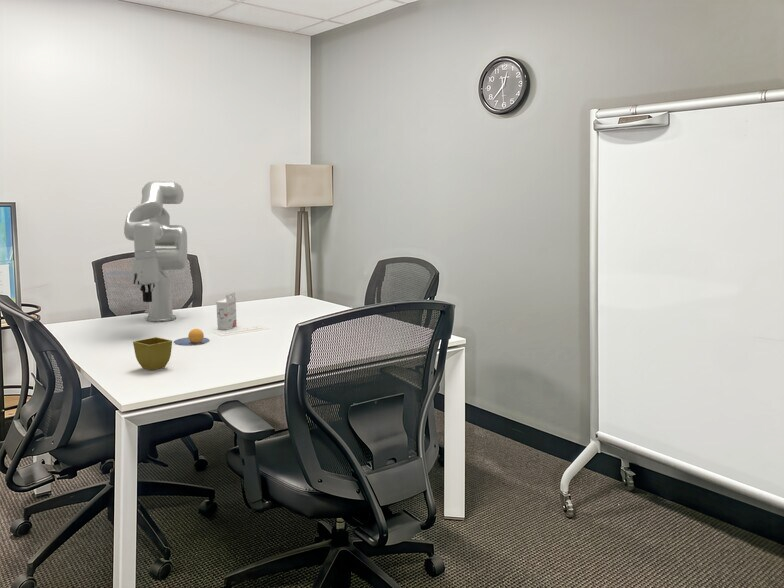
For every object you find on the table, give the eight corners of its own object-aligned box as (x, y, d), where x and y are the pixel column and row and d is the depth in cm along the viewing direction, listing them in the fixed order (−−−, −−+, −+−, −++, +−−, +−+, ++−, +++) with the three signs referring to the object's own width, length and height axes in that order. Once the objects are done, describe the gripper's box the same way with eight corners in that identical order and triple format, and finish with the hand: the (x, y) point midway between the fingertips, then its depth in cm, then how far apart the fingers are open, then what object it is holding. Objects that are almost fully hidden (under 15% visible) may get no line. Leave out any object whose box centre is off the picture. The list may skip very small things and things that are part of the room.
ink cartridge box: (226, 325, 271) (225, 291, 268) (236, 326, 270) (236, 291, 268) (216, 329, 262) (215, 294, 260) (227, 330, 262) (226, 294, 259)
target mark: (166, 342, 238) (166, 342, 238) (190, 336, 249) (190, 335, 249) (192, 346, 232) (192, 346, 232) (216, 339, 244) (216, 339, 244)
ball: (197, 337, 233) (191, 347, 236) (208, 335, 238) (202, 345, 240) (189, 326, 235) (183, 336, 237) (201, 324, 240) (194, 334, 242)
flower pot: (157, 363, 210) (156, 336, 208) (174, 367, 205) (172, 340, 203) (133, 368, 203) (132, 341, 201) (150, 373, 198) (148, 345, 196)
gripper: (152, 253, 254) (155, 298, 256) (122, 256, 240) (125, 303, 243) (166, 254, 250) (169, 299, 253) (136, 257, 237) (139, 305, 240)
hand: (147, 301), depth 248 cm, fingers closed
